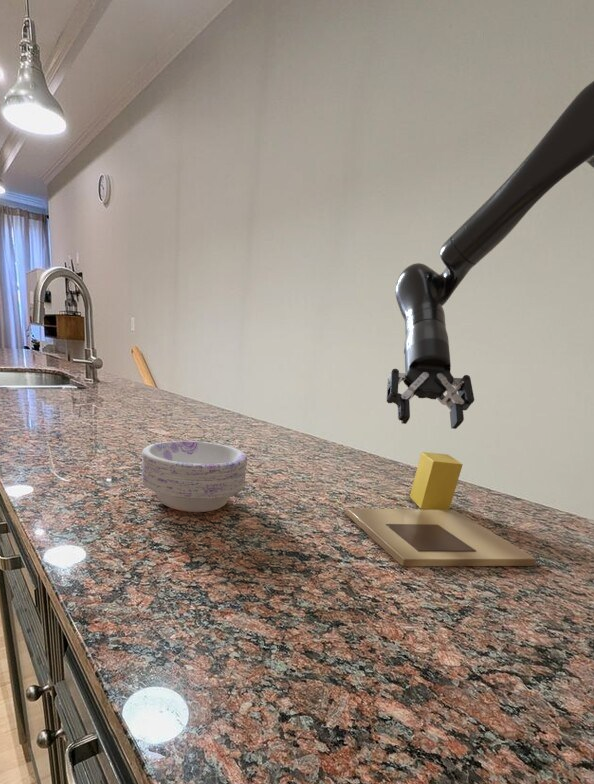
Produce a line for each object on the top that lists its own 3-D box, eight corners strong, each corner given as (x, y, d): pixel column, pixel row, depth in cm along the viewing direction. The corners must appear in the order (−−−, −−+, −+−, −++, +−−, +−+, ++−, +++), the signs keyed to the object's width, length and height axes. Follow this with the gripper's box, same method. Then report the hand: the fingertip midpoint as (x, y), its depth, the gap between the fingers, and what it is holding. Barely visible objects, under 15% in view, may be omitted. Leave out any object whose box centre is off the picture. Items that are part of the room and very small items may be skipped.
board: (452, 515, 70) (454, 509, 70) (534, 566, 56) (537, 558, 55) (345, 514, 67) (347, 507, 67) (402, 566, 53) (404, 558, 52)
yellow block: (435, 499, 77) (448, 454, 74) (448, 512, 72) (463, 464, 69) (409, 496, 78) (421, 451, 75) (420, 508, 72) (433, 461, 69)
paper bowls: (183, 479, 77) (186, 433, 74) (260, 502, 69) (266, 452, 66) (119, 501, 66) (119, 448, 63) (202, 532, 58) (207, 473, 55)
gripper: (394, 333, 81) (396, 406, 75) (476, 339, 80) (485, 415, 74) (381, 362, 88) (382, 431, 82) (456, 368, 87) (462, 439, 81)
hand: (430, 423), depth 78 cm, fingers open, 8 cm apart
